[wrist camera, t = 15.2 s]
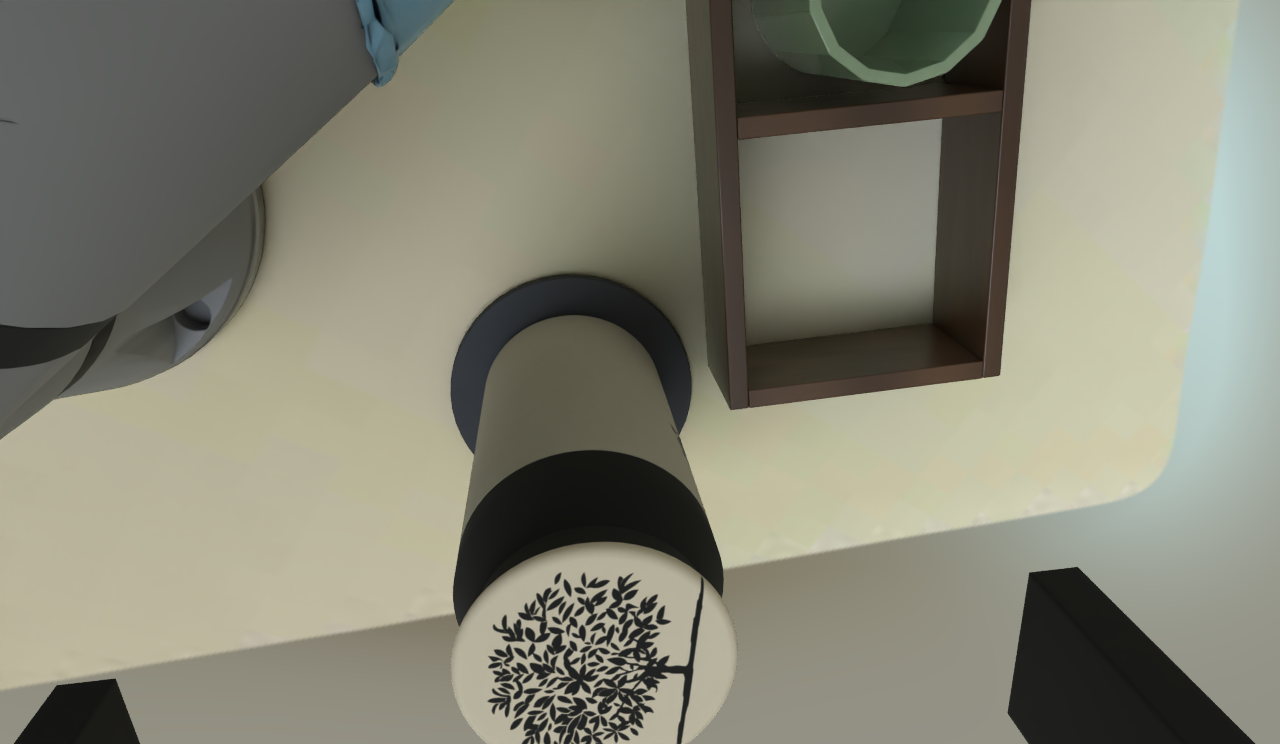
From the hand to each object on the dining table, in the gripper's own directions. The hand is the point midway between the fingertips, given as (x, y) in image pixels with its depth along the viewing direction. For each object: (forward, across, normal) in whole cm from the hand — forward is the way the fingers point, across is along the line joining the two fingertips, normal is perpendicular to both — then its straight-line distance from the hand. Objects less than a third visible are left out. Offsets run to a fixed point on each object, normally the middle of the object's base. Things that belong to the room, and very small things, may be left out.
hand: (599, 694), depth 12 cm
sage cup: (+26, +12, +10) cm, 30 cm away
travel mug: (+26, 0, -6) cm, 26 cm away
